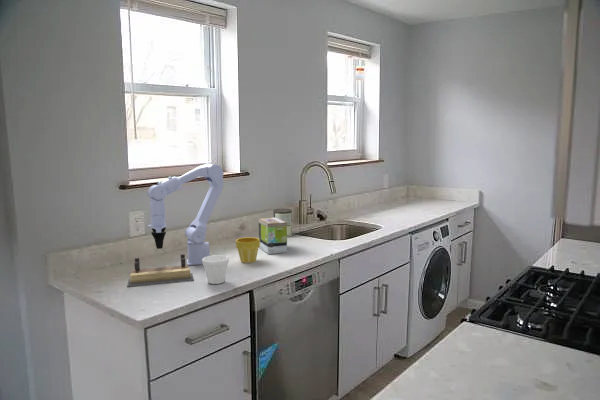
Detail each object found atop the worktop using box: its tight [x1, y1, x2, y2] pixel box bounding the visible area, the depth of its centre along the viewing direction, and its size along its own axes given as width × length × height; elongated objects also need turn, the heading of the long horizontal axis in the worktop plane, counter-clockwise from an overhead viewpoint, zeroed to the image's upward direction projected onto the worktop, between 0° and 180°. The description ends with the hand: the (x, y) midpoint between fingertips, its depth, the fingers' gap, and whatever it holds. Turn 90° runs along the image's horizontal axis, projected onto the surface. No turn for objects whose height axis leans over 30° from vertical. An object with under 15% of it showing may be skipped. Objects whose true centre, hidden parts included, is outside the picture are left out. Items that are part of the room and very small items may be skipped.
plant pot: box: [235, 236, 260, 264], centre depth 203 cm, size 10×10×10 cm
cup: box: [202, 254, 230, 285], centre depth 175 cm, size 10×10×9 cm
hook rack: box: [131, 253, 189, 273], centre depth 188 cm, size 22×8×6 cm, turn 107°
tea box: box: [258, 217, 288, 255], centre depth 222 cm, size 15×10×15 cm, turn 22°
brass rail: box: [129, 267, 191, 283], centre depth 178 cm, size 22×3×3 cm, turn 107°
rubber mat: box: [126, 272, 194, 288], centre depth 178 cm, size 24×9×1 cm, turn 107°
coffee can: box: [272, 208, 293, 238], centre depth 254 cm, size 10×10×14 cm
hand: (159, 246), depth 193 cm, fingers open, 7 cm apart
